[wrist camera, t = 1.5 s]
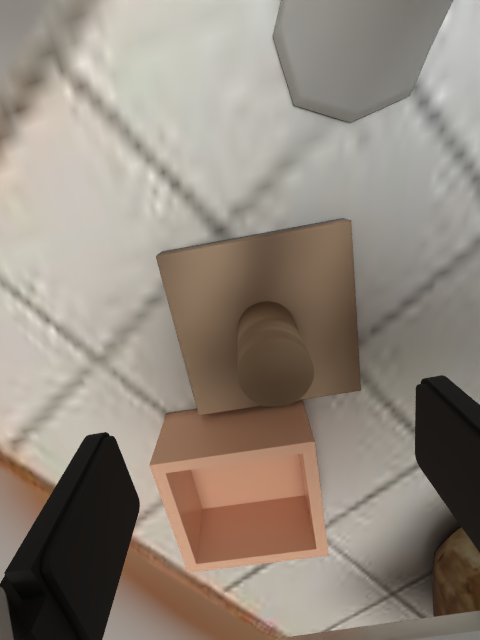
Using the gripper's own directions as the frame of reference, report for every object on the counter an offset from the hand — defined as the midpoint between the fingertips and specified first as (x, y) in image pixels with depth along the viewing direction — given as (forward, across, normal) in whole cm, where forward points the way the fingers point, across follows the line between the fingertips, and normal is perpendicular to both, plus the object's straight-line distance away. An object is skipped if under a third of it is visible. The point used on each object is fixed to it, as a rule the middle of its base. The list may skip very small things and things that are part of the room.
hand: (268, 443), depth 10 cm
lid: (+10, -1, 0) cm, 10 cm away
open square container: (+10, +2, +10) cm, 15 cm away
